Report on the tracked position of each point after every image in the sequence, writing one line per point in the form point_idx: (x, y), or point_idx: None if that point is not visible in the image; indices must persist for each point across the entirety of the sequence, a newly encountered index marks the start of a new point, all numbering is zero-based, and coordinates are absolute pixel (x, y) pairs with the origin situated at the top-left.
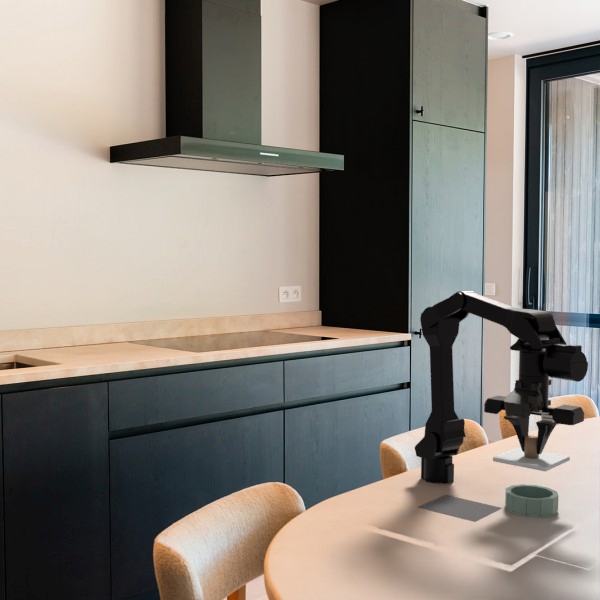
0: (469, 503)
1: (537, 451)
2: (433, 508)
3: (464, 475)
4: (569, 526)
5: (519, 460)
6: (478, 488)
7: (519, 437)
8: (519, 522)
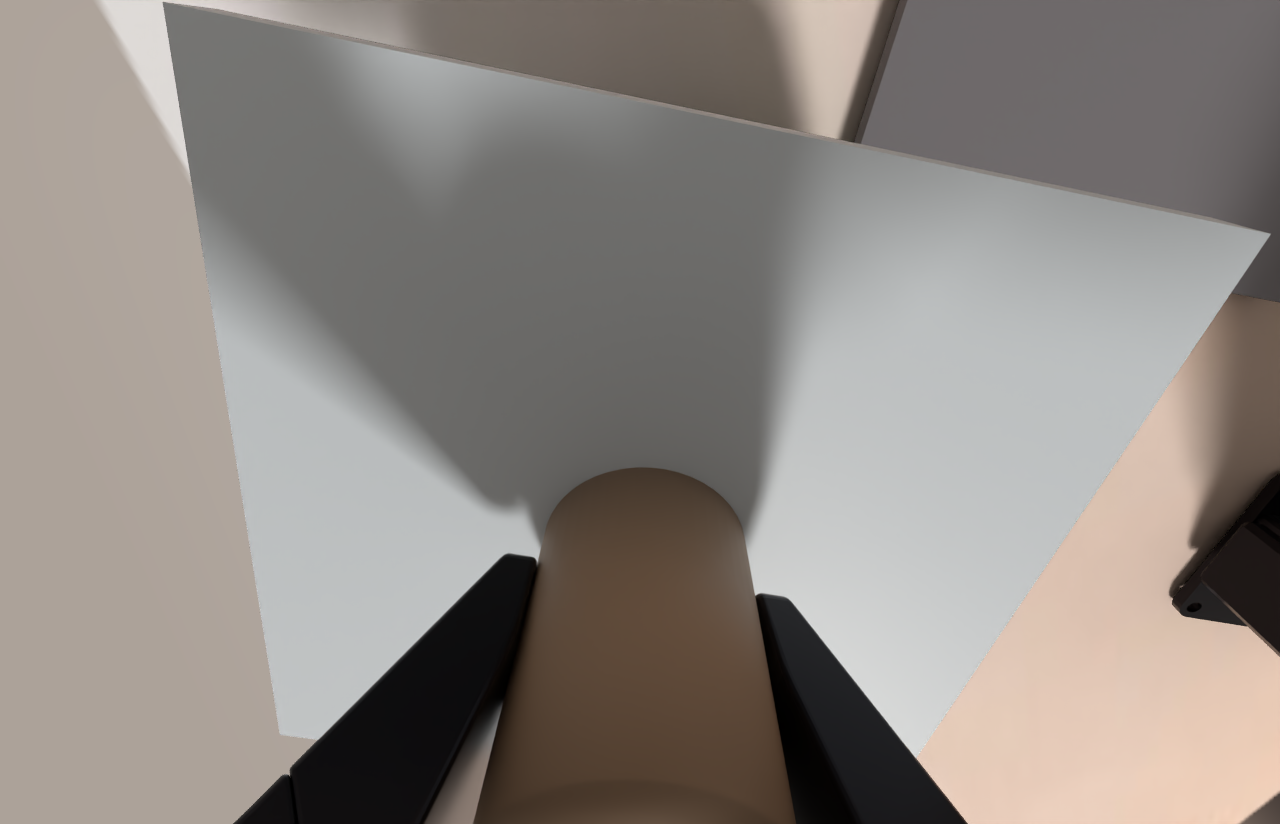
0: (1097, 185)
1: (520, 578)
2: None
3: (1111, 712)
4: None
5: (761, 264)
6: None
7: (919, 812)
8: (663, 28)
